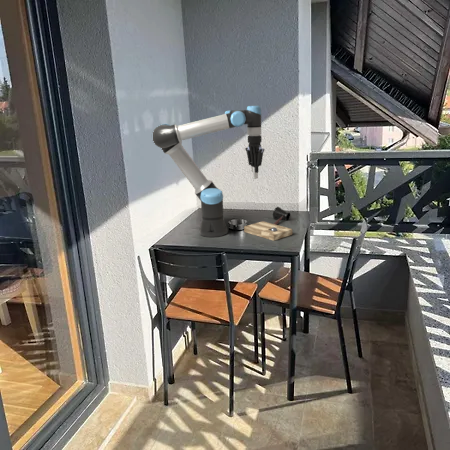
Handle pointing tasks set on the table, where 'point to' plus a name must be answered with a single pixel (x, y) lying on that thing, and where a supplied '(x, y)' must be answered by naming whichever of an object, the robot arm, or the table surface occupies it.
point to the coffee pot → (280, 215)
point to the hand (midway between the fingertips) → (255, 178)
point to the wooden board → (267, 230)
